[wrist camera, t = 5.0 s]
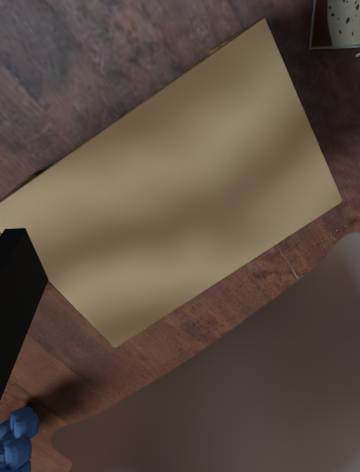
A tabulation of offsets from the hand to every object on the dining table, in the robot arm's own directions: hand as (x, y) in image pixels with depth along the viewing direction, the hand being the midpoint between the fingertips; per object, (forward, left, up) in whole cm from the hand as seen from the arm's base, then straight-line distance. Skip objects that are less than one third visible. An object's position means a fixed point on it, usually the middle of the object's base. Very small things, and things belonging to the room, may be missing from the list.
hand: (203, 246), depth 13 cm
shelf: (+3, 0, -25) cm, 25 cm away
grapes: (+20, -35, -25) cm, 48 cm away
